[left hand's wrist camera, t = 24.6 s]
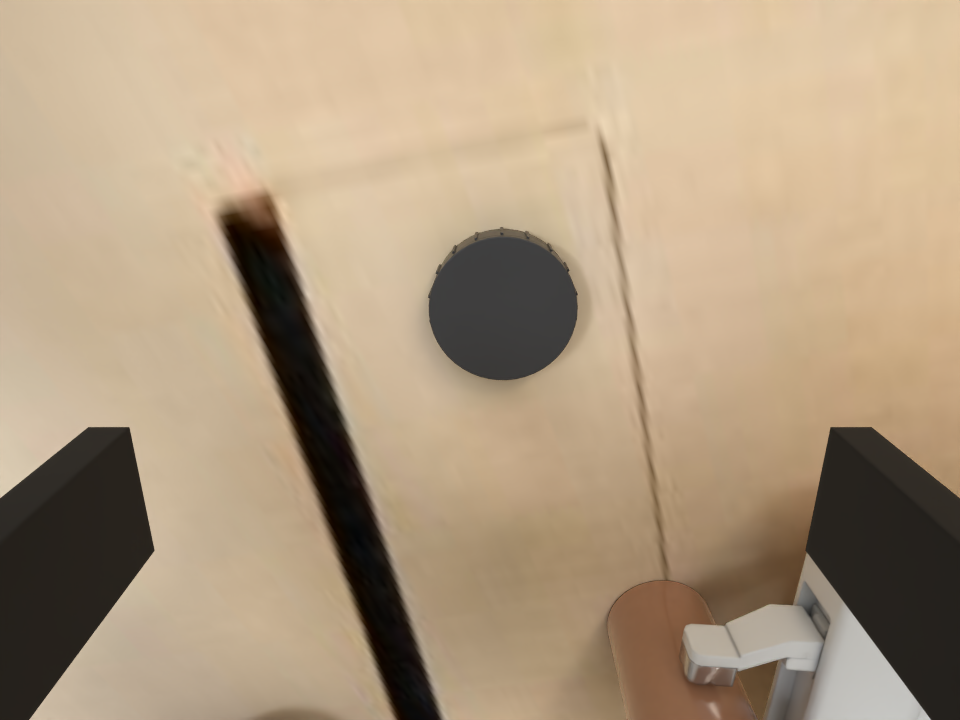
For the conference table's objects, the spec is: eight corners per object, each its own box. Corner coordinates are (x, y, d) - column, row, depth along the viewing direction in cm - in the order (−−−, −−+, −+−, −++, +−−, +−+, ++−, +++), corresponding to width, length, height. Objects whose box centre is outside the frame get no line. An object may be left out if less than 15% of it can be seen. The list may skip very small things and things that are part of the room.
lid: (583, 351, 29) (589, 367, 27) (447, 376, 29) (444, 393, 28) (562, 214, 27) (567, 221, 25) (416, 243, 27) (411, 252, 26)
